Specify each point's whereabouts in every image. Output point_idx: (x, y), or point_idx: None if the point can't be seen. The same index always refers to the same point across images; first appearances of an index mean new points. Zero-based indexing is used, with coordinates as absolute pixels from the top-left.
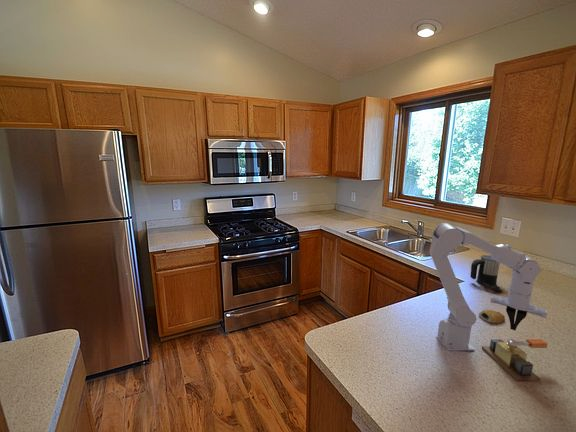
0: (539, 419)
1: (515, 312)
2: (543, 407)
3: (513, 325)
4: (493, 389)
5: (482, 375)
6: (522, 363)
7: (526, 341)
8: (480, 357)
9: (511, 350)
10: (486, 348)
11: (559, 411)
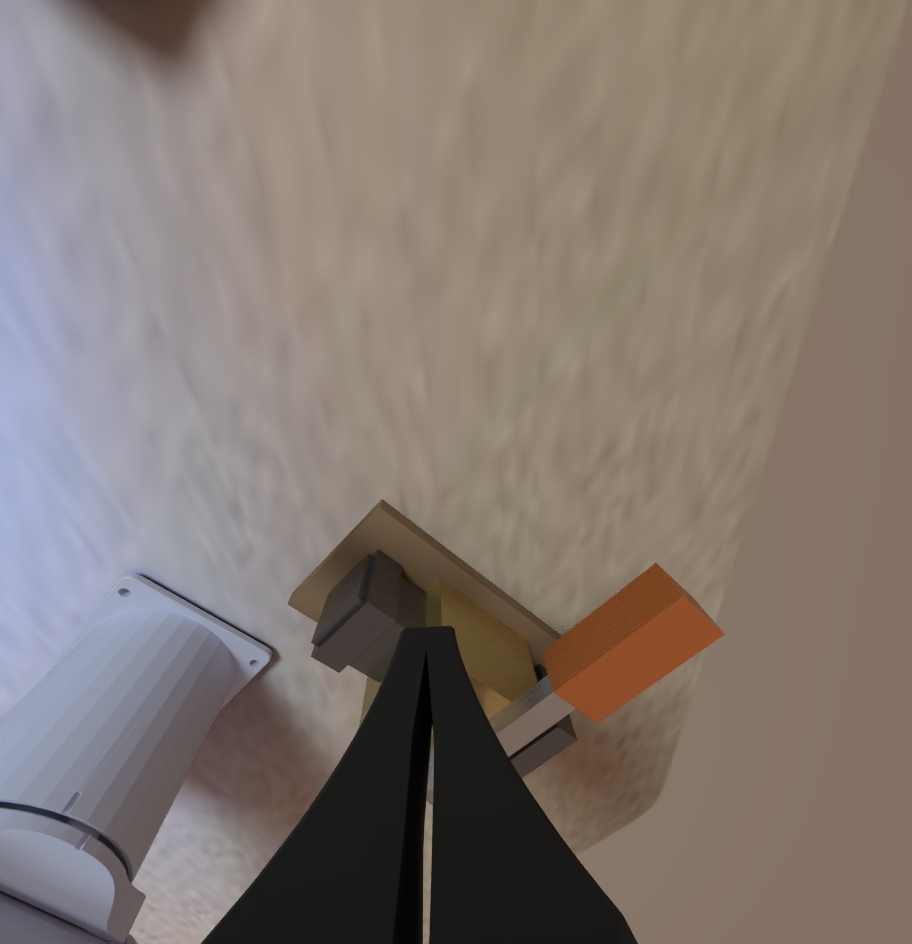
0: (572, 835)
1: (408, 928)
2: (588, 787)
3: (429, 737)
4: (432, 817)
5: None
6: (524, 765)
7: (552, 692)
8: (323, 678)
9: None
10: (317, 608)
11: (636, 771)
